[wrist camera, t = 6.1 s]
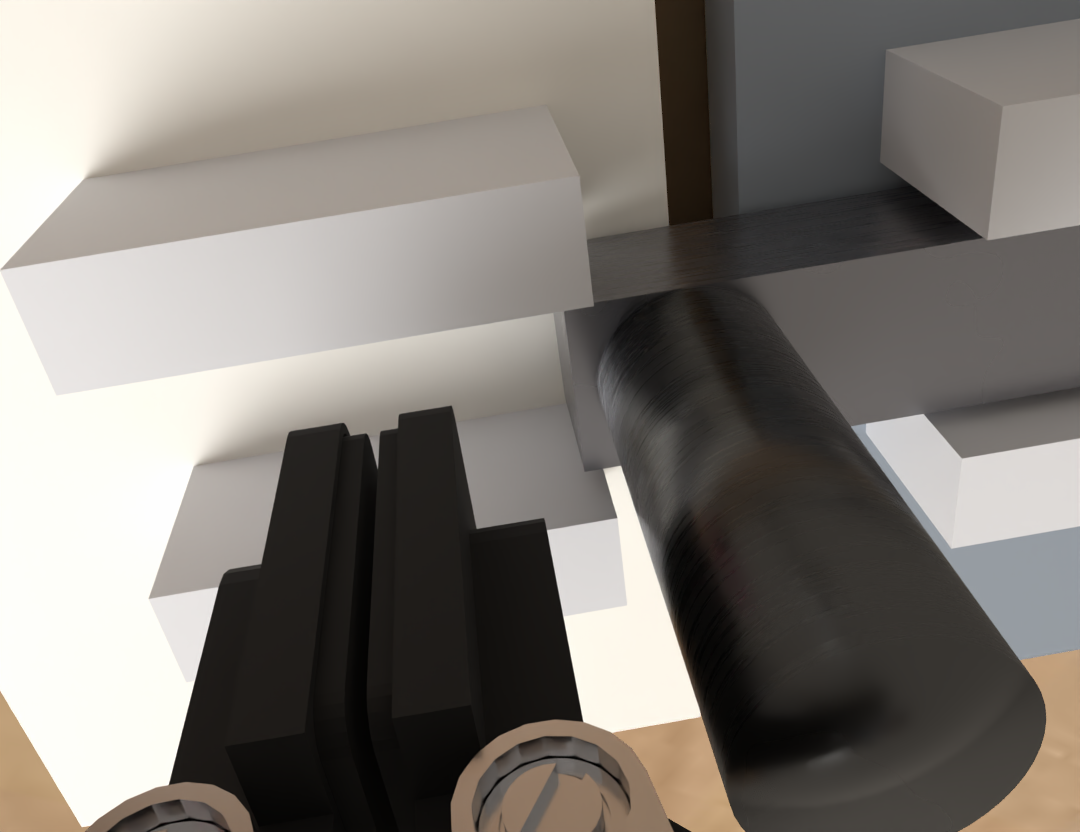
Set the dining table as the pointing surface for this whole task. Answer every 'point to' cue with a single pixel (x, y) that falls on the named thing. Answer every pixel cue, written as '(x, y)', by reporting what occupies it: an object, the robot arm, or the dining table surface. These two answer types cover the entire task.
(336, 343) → the assembly fixture board
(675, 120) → the dining table surface
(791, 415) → the bolt
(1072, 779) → the dining table surface
